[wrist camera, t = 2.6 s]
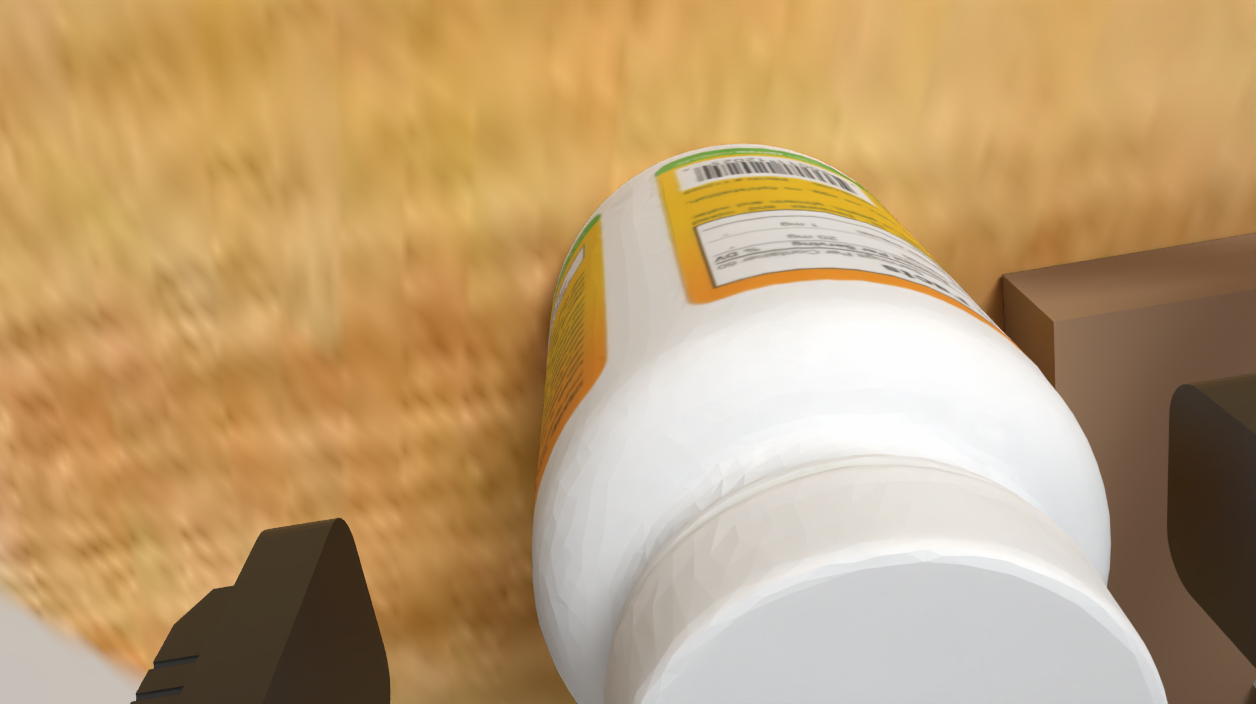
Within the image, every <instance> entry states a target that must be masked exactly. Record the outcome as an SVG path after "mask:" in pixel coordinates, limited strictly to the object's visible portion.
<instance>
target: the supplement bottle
mask: <svg viewBox="0 0 1256 704" xmlns="http://www.w3.org/2000/svg"><path fill="white" fill-rule="evenodd" d="M1110 552H1111V536H1110V515H1109V509H1108V504H1107V499H1106V493H1105V488H1104V484H1103V481H1102V477H1101V474H1100V471H1099V467H1098V464H1097V462H1096V459H1095V457H1094V454H1093V452H1092V449H1091V447H1090V444H1089V442H1088V440H1087V438H1086V436H1085V434H1084V432H1083V431H1082V429H1081V427H1080V425H1079V424H1078V422H1077V420H1076V418H1075V416H1074V415H1073V413H1072V412H1071V410H1070V409H1069V407H1068V406H1067V405H1066V403H1065V402H1064V400H1063V399H1062V397H1061V396H1060V395H1059V394H1058V392H1057V391H1056V390H1055V389H1054V388H1053V386H1052V385H1051V384H1050V383H1049V382H1048V380H1047V379H1046V378H1045V376H1044V375H1043V374H1042V372H1041V371H1040V369H1039V368H1038V367H1037V366H1036V365H1035V364H1034V363H1033V362H1032V361H1031V360H1030V359H1029V358H1028V357H1027V356H1026V355H1025V354H1024V353H1023V352H1022V351H1021V349H1020V348H1019V347H1018V346H1017V345H1016V344H1015V343H1014V342H1013V341H1012V340H1011V339H1010V338H1009V337H1008V336H1007V335H1006V334H1005V333H1004V332H1003V331H1002V330H1001V329H1000V328H999V327H998V326H997V325H996V324H995V323H994V322H993V321H992V320H991V319H990V317H989V316H988V315H987V314H986V313H985V312H984V311H983V310H982V309H981V308H980V307H979V306H978V305H977V304H976V303H975V302H974V301H973V300H972V299H971V298H970V296H969V295H968V294H967V293H966V292H965V291H964V290H963V289H962V288H961V287H960V286H959V285H958V284H957V282H956V281H955V280H954V279H952V278H951V277H950V276H949V274H948V273H947V272H946V271H945V270H944V269H943V268H942V267H941V266H940V265H939V264H938V263H937V262H936V261H935V260H934V259H933V257H932V256H931V255H930V254H929V253H928V252H927V251H926V250H925V249H924V248H923V247H922V246H921V245H920V244H919V243H918V242H917V241H916V240H915V239H914V238H913V237H912V236H911V235H910V233H909V232H908V231H907V230H906V229H905V228H904V227H903V226H902V225H901V224H900V223H899V222H898V221H897V220H896V219H895V218H894V217H893V216H892V215H891V213H890V212H889V211H888V210H887V209H886V208H885V207H884V206H883V205H882V204H881V203H880V202H879V201H878V200H877V199H876V198H875V197H874V196H872V195H871V194H870V193H869V192H868V191H866V190H865V189H864V188H863V187H862V186H860V185H859V184H858V183H857V182H855V181H854V180H853V179H851V178H849V177H848V176H846V175H845V174H843V173H841V172H840V171H838V170H837V169H835V168H833V167H831V166H829V165H827V164H825V163H823V162H821V161H819V160H817V159H815V158H812V157H809V156H807V155H804V154H801V153H798V152H795V151H792V150H788V149H783V148H778V147H773V146H766V145H757V144H729V145H719V146H711V147H705V148H701V149H697V150H693V151H689V152H685V153H682V154H679V155H676V156H674V157H671V158H669V159H666V160H663V161H661V162H659V163H657V164H655V165H653V166H651V167H649V168H648V169H646V170H644V171H643V172H641V173H640V174H638V175H636V176H635V177H633V178H632V179H630V180H629V181H627V182H626V183H625V184H623V185H622V186H621V187H619V188H618V189H617V190H616V191H615V192H614V193H613V194H612V195H611V196H610V197H608V198H607V199H606V200H605V201H604V202H603V203H602V204H601V205H600V206H599V207H598V209H597V210H596V211H595V212H594V213H593V214H592V216H591V217H590V218H589V220H588V221H587V222H586V224H585V225H584V227H583V228H582V229H581V231H580V233H579V234H578V236H577V238H576V239H575V241H574V243H573V244H572V246H571V248H570V250H569V253H568V255H567V257H566V259H565V261H564V264H563V266H562V269H561V272H560V275H559V278H558V282H557V286H556V290H555V294H554V298H553V305H552V310H551V317H550V328H549V340H548V356H547V369H546V380H545V393H544V405H543V415H542V422H541V433H540V444H539V456H538V464H537V471H536V487H535V501H534V516H533V530H532V570H533V589H534V597H535V605H536V611H537V616H538V621H539V625H540V628H541V631H542V634H543V637H544V640H545V642H546V645H547V647H548V650H549V652H550V655H551V657H552V660H553V662H554V664H555V667H556V669H557V671H558V673H559V675H560V677H561V678H562V680H563V682H564V684H565V685H566V687H567V689H568V690H569V692H570V694H571V695H572V697H573V698H574V700H575V701H576V702H577V704H1168V702H1167V698H1166V694H1165V690H1164V687H1163V684H1162V681H1161V679H1160V676H1159V673H1158V670H1157V668H1156V666H1155V664H1154V662H1153V659H1152V657H1151V655H1150V653H1149V651H1148V649H1147V647H1146V645H1145V644H1144V642H1143V640H1142V639H1141V637H1140V636H1139V634H1138V633H1137V631H1136V630H1135V628H1134V627H1133V625H1132V624H1131V622H1130V621H1129V619H1128V618H1127V617H1126V615H1125V614H1124V612H1123V611H1122V609H1121V608H1120V607H1119V605H1118V604H1117V602H1116V601H1115V599H1114V598H1113V596H1112V595H1111V593H1110V592H1109V590H1108V589H1107V582H1108V576H1109V570H1110Z"/></svg>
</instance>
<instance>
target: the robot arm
mask: <svg viewBox="0 0 1256 704" xmlns="http://www.w3.org/2000/svg"><path fill="white" fill-rule="evenodd" d="M1167 536H1168V544H1169V549H1170V553H1171V557H1172V560H1173V563H1174V566H1175V569H1176V571H1177V574H1178V576H1179V578H1180V580H1181V582H1182V584H1183V585H1184V587H1185V589H1186V590H1187V592H1188V593H1189V594H1190V595H1191V597H1192V598H1193V599H1194V600H1195V601H1196V602H1197V603H1198V604H1199V606H1200V607H1201V608H1202V609H1203V610H1204V611H1205V612H1206V613H1207V615H1208V616H1209V617H1210V618H1211V619H1212V620H1213V621H1214V622H1215V623H1216V625H1217V626H1218V627H1219V628H1220V629H1221V630H1222V631H1223V632H1224V634H1225V635H1226V636H1227V637H1228V638H1229V639H1230V640H1231V641H1232V643H1233V644H1234V645H1235V646H1236V647H1237V648H1238V649H1239V650H1240V652H1241V653H1242V654H1243V655H1244V656H1245V657H1246V658H1247V659H1248V660H1249V662H1250V663H1251V664H1252V665H1253V666H1254V667H1255V668H1256V373H1252V374H1245V375H1239V376H1233V377H1227V378H1220V379H1214V380H1208V381H1202V382H1196V383H1189V384H1183V385H1181V386H1179V387H1178V388H1177V389H1176V390H1175V392H1174V394H1173V396H1172V399H1171V403H1170V410H1169V446H1168V495H1167ZM153 663H154V669H150V670H149V671H148V672H147V674H146V676H145V678H144V680H143V681H142V683H141V685H140V687H139V689H138V690H137V692H136V701H133V702H131V703H130V704H390V677H389V668H388V662H387V657H386V652H385V648H384V644H383V641H382V637H381V634H380V630H379V627H378V623H377V620H376V616H375V612H374V609H373V605H372V602H371V598H370V595H369V591H368V588H367V584H366V581H365V577H364V573H363V570H362V566H361V563H360V559H359V556H358V552H357V549H356V545H355V542H354V539H353V536H352V533H351V531H350V529H349V527H348V525H347V524H346V522H345V521H344V520H343V519H341V518H335V519H329V520H323V521H316V522H310V523H304V524H298V525H291V526H285V527H279V528H273V529H267V530H264V531H262V532H261V533H260V535H259V537H258V538H257V540H256V542H255V544H254V546H253V548H252V550H251V552H250V554H249V556H248V558H247V560H246V562H245V564H244V566H243V568H242V570H241V572H240V574H239V576H238V578H237V580H236V582H235V584H234V586H229V587H223V588H217V589H213V590H212V591H211V592H210V593H208V594H207V595H206V596H205V597H204V598H203V599H202V600H201V601H200V602H199V603H197V604H196V605H195V606H194V607H193V608H192V609H191V610H190V611H189V612H187V613H186V614H185V615H184V616H183V617H182V618H181V619H180V620H179V621H177V622H176V623H175V624H174V626H173V627H172V629H171V631H170V633H169V635H168V636H167V638H166V640H165V642H164V644H163V645H162V647H161V649H160V651H159V653H158V654H157V656H156V658H155V660H154V662H153Z"/></svg>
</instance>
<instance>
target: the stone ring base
mask: <svg viewBox="0 0 1256 704" xmlns="http://www.w3.org/2000/svg"><path fill="white" fill-rule="evenodd" d="M1002 276H1003V300H1004V323H1005V334H1006V335H1007V336H1008V337H1009V338H1010V339H1011V340H1012V341H1013V342H1014V343H1015V344H1016V345H1017V346H1018V347H1019V348H1020V349H1021V351H1022V352H1023V353H1024V354H1025V355H1026V356H1027V357H1028V358H1029V359H1030V360H1031V361H1032V362H1033V363H1034V364H1035V365H1036V366H1037V367H1038V368H1039V369H1040V371H1041V372H1042V374H1043V375H1044V376H1045V378H1046V379H1047V380H1048V382H1049V383H1050V384H1051V385H1052V386H1053V388H1054V389H1055V390H1056V391H1057V392H1058V394H1059V395H1060V396H1061V397H1062V399H1063V400H1064V402H1065V403H1066V405H1067V406H1068V407H1069V409H1070V410H1071V412H1072V413H1073V415H1074V416H1075V418H1076V420H1077V422H1078V424H1079V425H1080V427H1081V429H1082V431H1083V432H1084V434H1085V436H1086V438H1087V440H1088V442H1089V444H1090V447H1091V449H1092V452H1093V454H1094V457H1095V459H1096V462H1097V464H1098V467H1099V471H1100V474H1101V477H1102V481H1103V484H1104V488H1105V493H1106V499H1107V504H1108V509H1109V515H1110V536H1111V552H1110V570H1109V576H1108V582H1107V589H1108V590H1109V592H1110V593H1111V595H1112V596H1113V598H1114V599H1115V601H1116V602H1117V604H1118V605H1119V607H1120V608H1121V609H1122V611H1123V612H1124V614H1125V615H1126V617H1127V618H1128V619H1129V621H1130V622H1131V624H1132V625H1133V627H1134V628H1135V630H1136V631H1137V633H1138V634H1139V636H1140V637H1141V639H1142V640H1143V642H1144V644H1145V645H1146V647H1147V649H1148V651H1149V653H1150V655H1151V657H1152V659H1153V662H1154V664H1155V666H1156V668H1157V670H1158V673H1159V676H1160V679H1161V681H1162V684H1163V687H1164V690H1165V694H1166V698H1167V702H1168V704H1256V668H1255V667H1254V666H1253V665H1252V664H1251V663H1250V662H1249V660H1248V659H1247V658H1246V657H1245V656H1244V655H1243V654H1242V653H1241V652H1240V650H1239V649H1238V648H1237V647H1236V646H1235V645H1234V644H1233V643H1232V641H1231V640H1230V639H1229V638H1228V637H1227V636H1226V635H1225V634H1224V632H1223V631H1222V630H1221V629H1220V628H1219V627H1218V626H1217V625H1216V623H1215V622H1214V621H1213V620H1212V619H1211V618H1210V617H1209V616H1208V615H1207V613H1206V612H1205V611H1204V610H1203V609H1202V608H1201V607H1200V606H1199V604H1198V603H1197V602H1196V601H1195V600H1194V599H1193V598H1192V597H1191V595H1190V594H1189V593H1188V592H1187V590H1186V589H1185V587H1184V585H1183V584H1182V582H1181V580H1180V578H1179V576H1178V574H1177V571H1176V569H1175V566H1174V563H1173V560H1172V557H1171V553H1170V549H1169V544H1168V536H1167V495H1168V446H1169V410H1170V403H1171V399H1172V396H1173V394H1174V392H1175V390H1176V389H1177V388H1178V387H1179V386H1181V385H1183V384H1189V383H1196V382H1202V381H1208V380H1214V379H1220V378H1227V377H1233V376H1239V375H1245V374H1252V373H1256V233H1253V234H1247V235H1241V236H1235V237H1229V238H1223V239H1216V240H1210V241H1204V242H1198V243H1192V244H1186V245H1180V246H1174V247H1168V248H1162V249H1156V250H1150V251H1143V252H1137V253H1131V254H1125V255H1119V256H1113V257H1107V258H1101V259H1095V260H1089V261H1083V262H1077V263H1070V264H1064V265H1058V266H1052V267H1046V268H1040V269H1034V270H1028V271H1022V272H1016V273H1010V274H1003V275H1002Z"/></svg>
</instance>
